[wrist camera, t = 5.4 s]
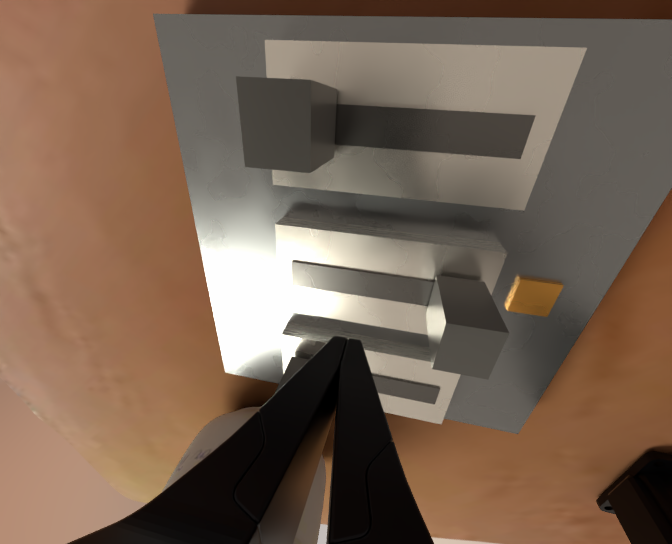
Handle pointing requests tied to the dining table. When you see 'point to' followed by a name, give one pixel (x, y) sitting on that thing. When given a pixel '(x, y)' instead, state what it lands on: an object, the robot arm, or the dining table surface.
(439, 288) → the handle
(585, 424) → the dining table surface
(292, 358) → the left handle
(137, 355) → the dining table surface
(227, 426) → the teacup
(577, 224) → the breaker panel
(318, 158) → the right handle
